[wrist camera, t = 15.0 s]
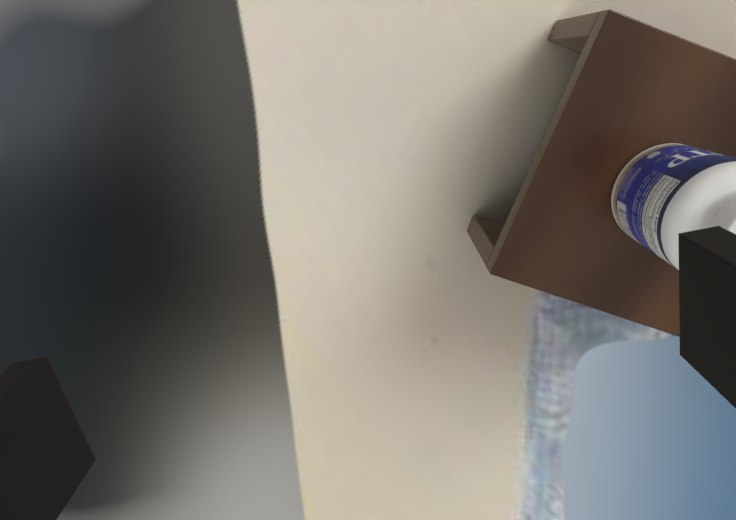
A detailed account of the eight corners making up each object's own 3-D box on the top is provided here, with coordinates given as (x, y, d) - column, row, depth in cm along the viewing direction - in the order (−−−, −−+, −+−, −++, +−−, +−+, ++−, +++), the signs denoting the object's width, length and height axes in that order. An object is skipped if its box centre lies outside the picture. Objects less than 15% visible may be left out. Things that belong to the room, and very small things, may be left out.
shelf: (466, 231, 38) (506, 304, 27) (556, 20, 33) (649, 0, 22) (674, 301, 40) (795, 399, 28) (787, 110, 35) (984, 134, 24)
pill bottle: (726, 148, 28) (877, 185, 20) (693, 246, 30) (819, 319, 21) (622, 135, 28) (730, 168, 19) (596, 235, 30) (684, 305, 21)
